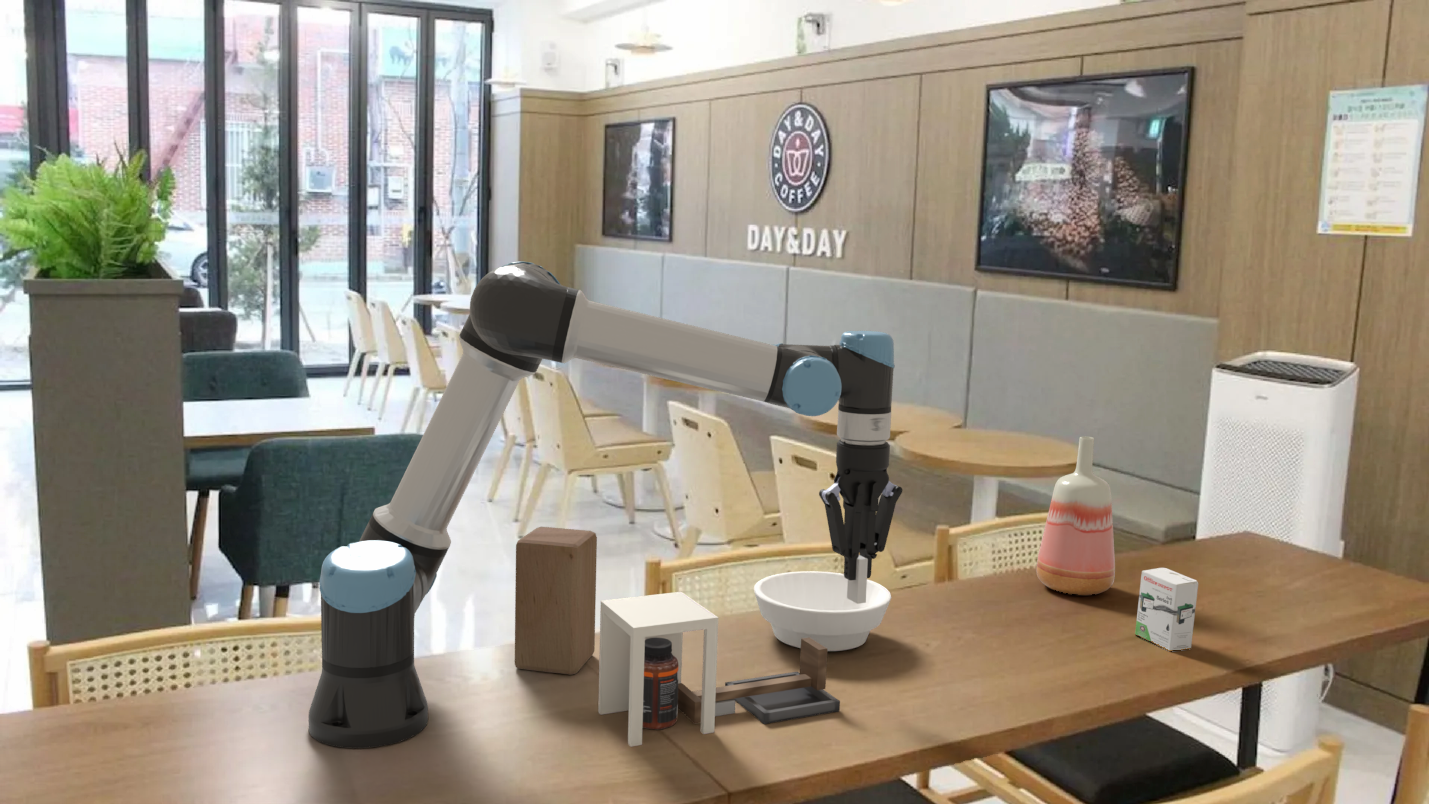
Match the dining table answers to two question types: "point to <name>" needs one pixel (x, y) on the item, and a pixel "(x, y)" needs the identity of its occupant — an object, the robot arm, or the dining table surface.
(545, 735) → the dining table surface
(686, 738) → the dining table surface
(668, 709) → the supplement bottle
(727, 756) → the dining table surface
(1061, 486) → the vase
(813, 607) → the bowl
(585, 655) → the wooden block
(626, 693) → the tunnel
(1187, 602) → the ink box
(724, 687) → the wooden dumbbell-shaped bar
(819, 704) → the grey shallow square tray
